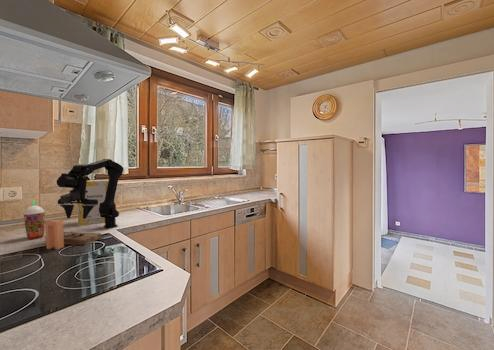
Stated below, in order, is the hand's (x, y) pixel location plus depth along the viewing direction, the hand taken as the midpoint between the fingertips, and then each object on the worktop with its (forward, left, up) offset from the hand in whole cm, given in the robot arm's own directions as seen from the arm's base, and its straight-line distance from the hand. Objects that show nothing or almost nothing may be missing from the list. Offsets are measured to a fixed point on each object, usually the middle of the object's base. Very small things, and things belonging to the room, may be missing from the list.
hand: (76, 218), depth 116 cm
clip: (+8, -9, -11) cm, 16 cm away
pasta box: (-34, +13, -11) cm, 38 cm away
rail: (+1, -1, -11) cm, 11 cm away
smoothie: (-19, -16, -11) cm, 27 cm away
